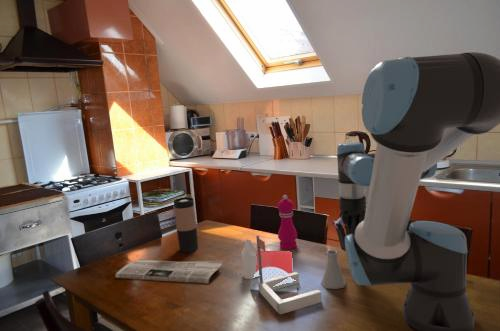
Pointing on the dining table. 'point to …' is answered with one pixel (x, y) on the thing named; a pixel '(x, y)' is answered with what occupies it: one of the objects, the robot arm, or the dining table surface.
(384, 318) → the dining table surface
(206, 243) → the dining table surface
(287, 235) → the pepper mill
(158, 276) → the newspaper
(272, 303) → the white u-shaped stand
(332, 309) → the dining table surface
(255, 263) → the grey piece
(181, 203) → the travel mug
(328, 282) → the flask
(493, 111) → the robot arm
